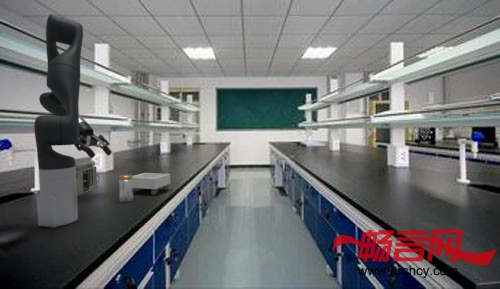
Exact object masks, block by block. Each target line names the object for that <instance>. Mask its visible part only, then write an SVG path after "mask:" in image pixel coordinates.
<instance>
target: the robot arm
mask: <svg viewBox="0 0 500 289" xmlns="http://www.w3.org/2000/svg"><path fill="white" fill-rule="evenodd" d="M83 39H84V28H83V25H82V24H81V22H78V21H76V20H73V19H70V18H68V17H64V16H60V15H58V14H52V13H51V14H49V15H48V16H47V20H46V26H45V41H46V42H45V43H46V44H45V46H46V59H47V73H46V87H47V88H48V89H49V90H50V91H48V92H43V93H42V94H40V95H39V104H40V105H41V107H43V108H44V109H45V111H48V112H49V113H51V115H38V116H37V117H36V118H35V119H34V125H33V126H34V128H33V129H34V137H35V146H36V157H37V162H38V163H37V164H38V180H39V183H38V184H39V193H37V194H36V207H37V210H36V211H37V224H38V226H39V227H48V228H56V227H61V226H65V225H69V224H72V223H74V222H77V221H78V219H79V218H78V217H79V214H78V213H79V212H78V196H77V190H76V168H75V164H76V159H75V158H74V157H73V156H71V155H66V154H63V153H60V152H58V151H56V150H55V149H54V148H53V146H74V147H75V148H76V150H78V152H81V151H82V152H84V153H86V155H87V156H88V157H90V158H91V159H92V158H94V157H95V156H96V152H94V150H93V149H92V148H91V147H96V148H100V149H102V151H103V152H104V153H105V154H106V155H107V156H111V154H112V153H113V152H112V150H111V149H110V148H109V146H110V144H111V143H110V142H109V141H108V140H107V139H106V138H105V137H104V136H103V135H102V134H99V135H96V134H95V133H94V129H93V128H92V127H91V125H90V124H89V123H88V122H87V121H86V119H85V118H84V117H83V116H81V115H80V111H79V101H80V100H79V99H80V98H79V97H80V88H81V55H82V46H83ZM57 43H59V44H64V45H67V46H69V47H68V48H67V49H66V50H65V51H63V52H62V53H60V52H59V50H58V46H57ZM53 114H54V115H53Z"/></svg>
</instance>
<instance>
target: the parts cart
mask: <svg viewBox="0 0 500 289" xmlns="http://www.w3.org/2000/svg"><path fill="white" fill-rule="evenodd" d="M132 177H133V195H135V194H136V192H137V189H143V190H150V191H151V192H150V193H151V195H152V196H156V195H157V194H158V189H160V188H162V190H163V191H168V190H169V188H170V186H169V185H170V184H171V173H153V172H143V173H139V174H135V175H132Z"/></svg>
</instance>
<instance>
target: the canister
mask: <svg viewBox="0 0 500 289" xmlns="http://www.w3.org/2000/svg"><path fill="white" fill-rule="evenodd" d="M132 176H133V174H122V175H118V190H119V202H121V203H126V202H127V203H128V202H131V201H134V194H133V177H132Z"/></svg>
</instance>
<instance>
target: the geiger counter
mask: <svg viewBox="0 0 500 289" xmlns="http://www.w3.org/2000/svg"><path fill="white" fill-rule="evenodd" d="M75 168H76V190H77V197H79V196H81V195H84V194H86V193H89V192H92V191H94V190H96V188H97V189H98V183H100V176H99V175H98V173H97V166H96V161H95V160H93V159H91V160H86V161H84V162H80V163H79V162H78V163H75ZM93 189H94V190H93ZM88 191H89V192H88ZM83 193H84V194H83ZM78 195H79V196H78Z"/></svg>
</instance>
